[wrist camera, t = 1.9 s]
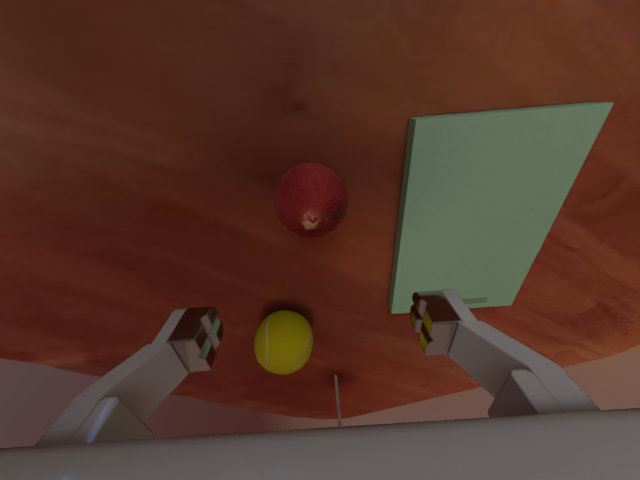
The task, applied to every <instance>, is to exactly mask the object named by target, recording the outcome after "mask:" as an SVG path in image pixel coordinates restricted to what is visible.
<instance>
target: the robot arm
mask: <svg viewBox="0 0 640 480" xmlns="http://www.w3.org/2000/svg"><path fill="white" fill-rule="evenodd" d="M412 300H413V302H414V304H413V305H412V306H411V307H410V320H411V323H412V326H413V329H414V330H415V331H416V332H417V333H419V334H420V335H419V342H420V345H421V347H422V349H423V351H424V354H425V355H448V356H449V357H450V358H451V359H452V360H453V361H454V362H455V363H457V364H458V365H459V366H460V367H461V368H462V369H463V370H464V371H465V372H467V373H468V374H469V375H470V376H471V377H472V378H473V379H474V380H475V381H477V382H478V383H479V384H480V385H481V386H482V387H483V388H484V389H485V390H487V391H488V392H489V393H490V394H491V395H492V396H493V397H494V398H495V400H494V401H493V403H492V405H491V407H490V408H489V410H488V415H489V416H490V417H489V418H474V419H457V420H441V421H425V422H410V423H395V424H394V423H393V424H377V425H361V426H346V427H330V428H313V429H298V430H283V431H265V432H250V433H235V434H219V435H203V436H187V437H172V438H157V439H151V438H152V435H153V433H152V430H151V429H150V428H149V427H148V426H147V425H146V424H145V423H144V422H145V421H146V419H147V418H148V417H149V416H150V415H151V414H152V413H153V412H154V411H155V410H156V409H157V407H158V406H159V405H160V404H161V403H162V402H163V401H164V400H165V399H166V398H167V397H168V396H169V394H170V393H171V392H172V391H173V390H174V389H175V388H176V387H177V386H178V385H179V384H180V382H181V381H182V380H183V379H184V378H185V377H186V376H187V375H188V374H189V373H188V372H195V371H206V370H211V367H212V365H213V362H214V359H215V357H216V351H215V348H216V347H218V346H219V345H220V344H221V341H222V338H223V324H222V322H221V320H219V319H218V318H216V316H217V314H218V312H217V310H216V308H215V307H201V308H185V309H176V310H175V311H173V312H172V314H171V315H170V317H169V318H168V320H167V321H166V323H165V324H164V326H163V327H162V329H161V330H160V332H159V333H158V335H157V336H156V338H155V339H154V341H153V342H152V344H147V345H146V346H144V347H143V348H142V349H140V350H139V351H138V352H136V353H135V354H133V355H132V356H131V357H129V358H128V359H127V360H125V361H124V362H122V363H121V364H120V365H118V366H117V367H116V368H114V369H113V370H111V371H110V372H109V373H107V374H106V375H104V376H103V377H102V378H100V379H99V380H98V381H96V382H95V383H93V384H92V385H91V386H89V387H88V388H87V389H85V390H84V391H82V392H81V393H80V394H78V395H77V396H75V397H74V398H73V399H72V401H71V402H70V403H69V404H68V405H67V407H66V408H65V409H64V410H63V412H62V413H61V414H60V415H59V417H58V418H57V419H56V420H55V422H54V423H53V424H52V425H51V427H50V428H49V429H48V430H47V432H46V433H45V434H44V435H43V436H42V438H41V439H40V440H39V441H38V443H37V444H36V445H35V446H30V447H14V448H0V480H640V408H631V409H614V410H600V409H599V408H598V407H597V406H596V405H595V403H594V402H593V401H592V400H591V399H590V398H589V397H588V396H587V395H586V394H585V393H584V392H583V390H582V389H581V388H580V387H579V386H578V385H577V384H576V383H575V382H574V381H573V380H572V378H571V377H570V376H569V375H568V374H567V373H566V372H565V371H564V370H563V369H562V368H561V367H560V366H559V365H557V364H556V363H554V362H552V361H550V360H549V359H547V358H545V357H544V356H542V355H540V354H538V353H537V352H535V351H533V350H532V349H530V348H528V347H526V346H525V345H523V344H521V343H519V342H518V341H516V340H514V339H513V338H511V337H509V336H507V335H506V334H504V333H502V332H500V331H499V330H497V329H495V328H494V327H492V326H490V325H488V324H487V323H485V322H483V321H478V320H477V319H476V318H475V316H474V315H473V314H472V312H471V311H470V310H469V308H468V307H467V306H466V304H465V303H464V302H463V300H462V299H461V298H460V296H459V295H458V294H457V292H456V291H455V290H453V289H445V290H433V291H421V292H414V293H413V296H412Z"/></svg>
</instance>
